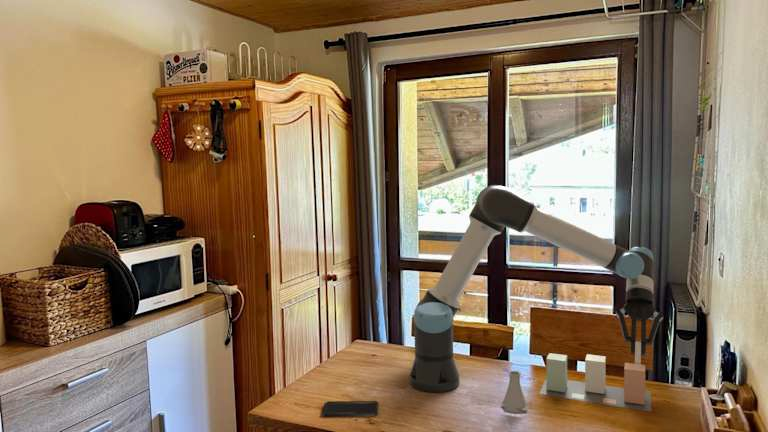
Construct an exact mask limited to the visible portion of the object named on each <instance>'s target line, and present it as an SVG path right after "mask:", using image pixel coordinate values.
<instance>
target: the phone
mask: <svg viewBox="0 0 768 432" xmlns="http://www.w3.org/2000/svg"><path fill="white" fill-rule="evenodd" d="M378 414H379V402H378V401H377V400H363V401H362V400H358V401H357V400H355V401H351V400H348V401H347V400H346V401H344V400H343V401H342V400H341V401H339V400H337V401H329V400H328V401H326V402H324V403H323V406H322V410H321V416H322V417H323V418H344V417H345V418H348V417H349V418H351V417H352V418H353V417H354V418H356V417H358V418H359V417H360V418H361V417H365V418H366V417H368V418H369V417H370V416H374V417H376V416H378Z"/></svg>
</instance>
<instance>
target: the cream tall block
mask: <svg viewBox="0 0 768 432" xmlns="http://www.w3.org/2000/svg"><path fill="white" fill-rule="evenodd" d="M606 358H607V356H604V355H595V354H588V353H587V354H586V356H585V360H584V361H585V362H584V364H585V365H584V367H585V368H584V371H585V372H584V382H585V391H587V392H594V393H601V394H604V393H605V386H606V371H607V370H606V369H607V368H606V367H607V365H606V363H607V362H606V361H607V360H606Z"/></svg>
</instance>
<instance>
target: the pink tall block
mask: <svg viewBox="0 0 768 432" xmlns="http://www.w3.org/2000/svg"><path fill="white" fill-rule="evenodd" d="M623 370H624V371H623V382H624V384H623V388H624V402H629V403H636V404H642V405H645V391H646V364H641V365H640V364H635V363H632V362H631V363H630V362H624V369H623Z"/></svg>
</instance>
